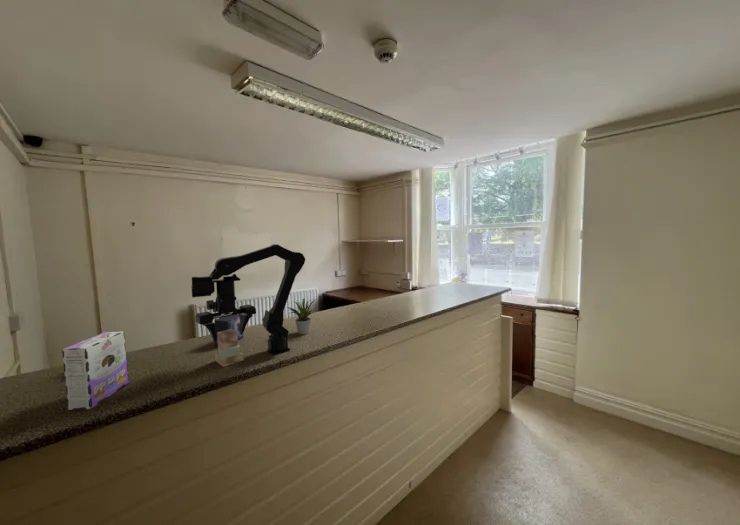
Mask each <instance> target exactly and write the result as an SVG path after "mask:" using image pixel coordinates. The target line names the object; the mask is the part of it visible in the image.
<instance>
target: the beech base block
mask: <svg viewBox="0 0 740 525" xmlns="http://www.w3.org/2000/svg"><path fill="white" fill-rule="evenodd" d="M214 359H215V362H216V363H218V364H219V365H220V366H221V367H227V366H230V365H233V364H237V363H241V362H243V361H244V353H243V352H241V351H240V355H236V356H232V357H227V358H223V359H222V358H221V357H220V355H219V354H218V353H215V354H214Z"/></svg>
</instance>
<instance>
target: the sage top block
mask: <svg viewBox="0 0 740 525" xmlns="http://www.w3.org/2000/svg"><path fill="white" fill-rule="evenodd" d="M217 352H218V354H219V355H220V357H221V358H222V359H223V358H227V357H232V356H236V355H240V352H241V346H240V344H239V343H238V346H235V347H231V348H227V349H224V350H223V349H222V348H220V347H219V346H218V345H217Z"/></svg>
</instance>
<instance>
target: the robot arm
mask: <svg viewBox="0 0 740 525" xmlns="http://www.w3.org/2000/svg"><path fill="white" fill-rule="evenodd" d="M274 256H276V257H278V258H280V259H282V260H284V261H285V262H284V273H283V276H282V279H281V282H280V284H279V287H278V290H277V293H276V296H275V298H274V302H273V304H272V307H271V308H270V309H269V310H265V311H264V316H263V318H262V319H261V321H262V326H263V328H264V329H265V330H266V331H267V332H268V333H269V334H270V335H268V340H267V349H266V351H267V352H269V353H272V354H273V355H278V354H282V353H286V352H288V351H291V348H290V347H289V341H288V340H289V338H288V336H289V332H290V331H289V330H288V329H287V328H286V327H284V320H285V318H284V317H285V315H284V312H285V308H286V306H287V303H288V299H289V296H290V294H291V290H292V288H293V284H294V283H295V279H296V277H297V275H298V274H299V273H300V272H301V270H302V268H303V267H304V265H305V263H306V257H305V255H304V254H303V253H302V252H299V251H298V252H297V251H292V250H290V249H288V248H286V247H283V246H281V245H279V244H275V243H274V244H270V246H266V247H263V248H260V249H257V250H254V251H250V252H247V253H244V254H242V255H235V256H227V257H221V258H219V259H217V260H216V261H215V262H214V268H213V270H212V272H210V274H209V275H208V276H192V277H191V298H201V297H210V296H212V294H214V293H215V290H216V296H215V301H214V300H213V299H210V300H209V299H208V300H206V302H205V303H206V304H205V305H206V310H207V311H204V312H197V313H196V314H195V316H194V320H195V322H196V323H197V324H198V325H202V326H203V327H206V329H207V330H208V333H209V335H210V337H211V339H212V340H213V342H215V341H216V334H215V323H214V322H213V321H214V320H216V319H219V318H221V317H226V316H232V315H239V318H240V334H241V335H242V334H243V335H244V331H245V329H246V327H247V324H248V323H249V320H250V319H251V318H253V317H254V315H256V314H257V309H256V307H255V306H254V305H252V304H244V305H239V308H236V301H237V297H236V292H235V291H236V290H235V282H239V281H241V278H240V277H238V275H237V274H236V272H238V271H239V270H241V269H242V268H244V267H245V266H248V265H251V264H254V263H256V262H259V261H262V260H263V261H264V260H265V259H268V258H271V257H274ZM215 287H216V288H215ZM210 310H212V312H213V313H212V312H210Z"/></svg>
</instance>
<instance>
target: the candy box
mask: <svg viewBox="0 0 740 525" xmlns="http://www.w3.org/2000/svg"><path fill="white" fill-rule="evenodd" d="M125 341H126V340H125V331H124V330H121V331H103V332H102V333H99V334H97V335H94V336H92V337H89V338H87V339H84V340H81V341H79V342H77V343H74V344H72V345H70V346H69V345H68V346H67V347H65V348H62V349H61V353H62V362H63V374H64V382H65V383H64V384H65V391H66V392H65V394H66V403H67V410H68V411H70V410H71V411H74V410H75V411H77V409H81V410H90V409H93V408H94V407H96V406H97V405H99V404H100V403H102V402H103V401H104V400H106V399H107V398H109V397H110V396H112V395H113V394H115V393H116V392H118V391H119V390H120V389H121V388H124V387H125V386H126V385H127V384H129V370H128V361H127V350H126V342H125Z"/></svg>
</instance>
